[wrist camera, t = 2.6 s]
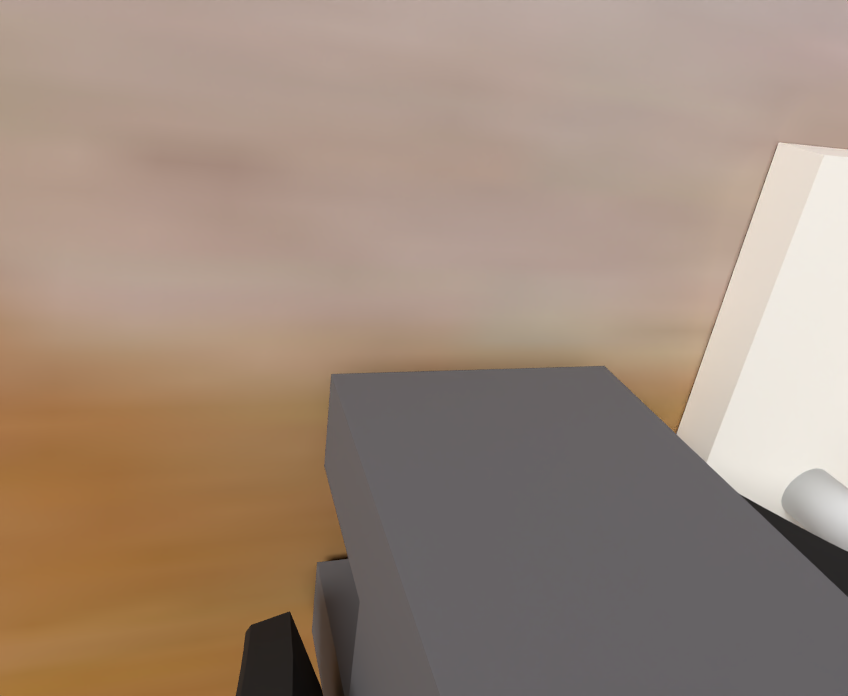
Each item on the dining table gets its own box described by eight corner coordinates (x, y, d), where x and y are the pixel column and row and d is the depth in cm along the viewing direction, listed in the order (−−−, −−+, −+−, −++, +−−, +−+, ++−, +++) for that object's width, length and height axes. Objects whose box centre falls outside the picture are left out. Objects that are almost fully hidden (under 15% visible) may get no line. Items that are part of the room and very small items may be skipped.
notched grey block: (331, 374, 11) (468, 781, 5) (604, 366, 12) (929, 674, 7) (311, 630, 13) (391, 1084, 8) (540, 597, 15) (739, 957, 9)
